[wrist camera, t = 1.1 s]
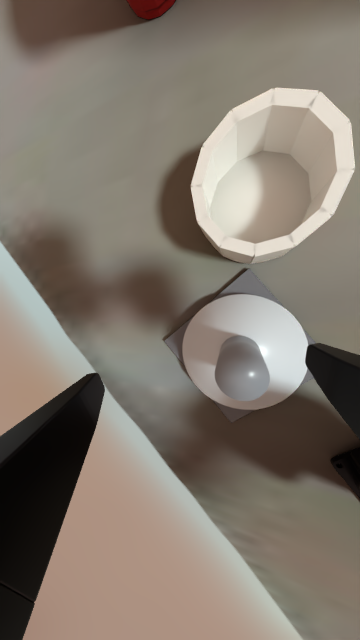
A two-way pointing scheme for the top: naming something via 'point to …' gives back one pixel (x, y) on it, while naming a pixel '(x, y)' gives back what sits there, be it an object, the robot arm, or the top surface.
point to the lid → (245, 351)
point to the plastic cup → (150, 7)
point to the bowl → (272, 173)
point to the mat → (241, 285)
